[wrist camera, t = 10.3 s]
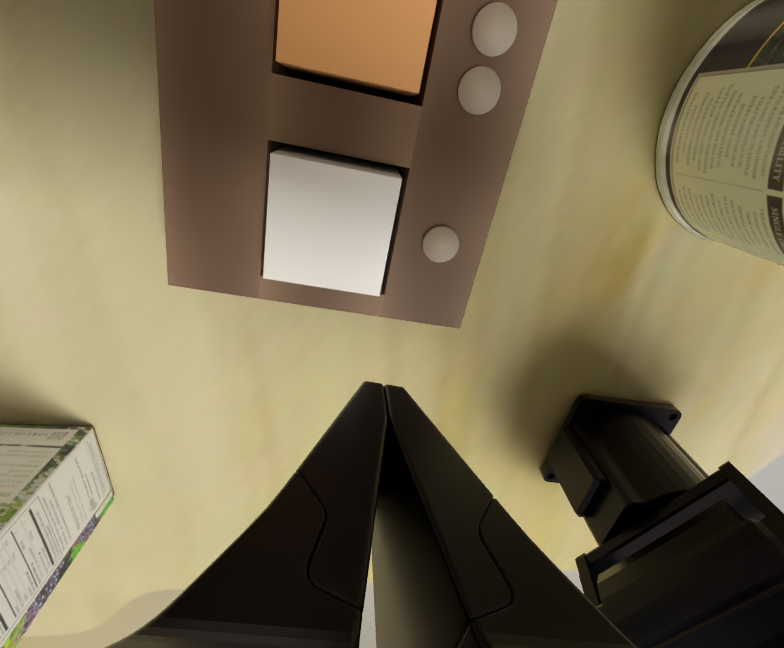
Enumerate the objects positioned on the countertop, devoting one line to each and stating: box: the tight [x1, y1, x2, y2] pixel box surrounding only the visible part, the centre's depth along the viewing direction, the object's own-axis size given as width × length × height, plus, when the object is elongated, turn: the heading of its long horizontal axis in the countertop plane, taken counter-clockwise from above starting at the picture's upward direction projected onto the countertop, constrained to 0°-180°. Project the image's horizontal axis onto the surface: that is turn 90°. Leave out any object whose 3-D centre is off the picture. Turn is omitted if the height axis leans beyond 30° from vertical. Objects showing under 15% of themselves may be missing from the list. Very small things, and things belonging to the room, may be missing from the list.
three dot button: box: [276, 0, 437, 97], centre depth 13 cm, size 4×4×3 cm
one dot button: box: [263, 147, 402, 296], centre depth 16 cm, size 4×4×3 cm
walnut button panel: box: [154, 0, 558, 329], centre depth 14 cm, size 12×21×3 cm, turn 169°
